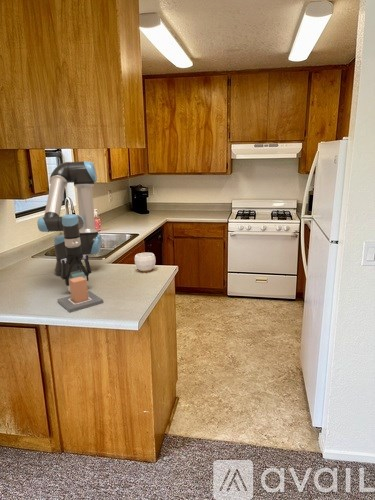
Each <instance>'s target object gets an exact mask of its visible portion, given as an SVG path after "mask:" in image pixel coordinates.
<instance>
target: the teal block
mask: <svg viewBox="0 0 375 500" xmlns="http://www.w3.org/2000/svg"><path fill="white" fill-rule="evenodd" d="M81 276H82V277H83V278H85V274H84V273H83V271H82V270H81V271H80V270H79V271H75V272H71V273H70V277H69V279H72V278H77V277H81Z"/></svg>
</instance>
